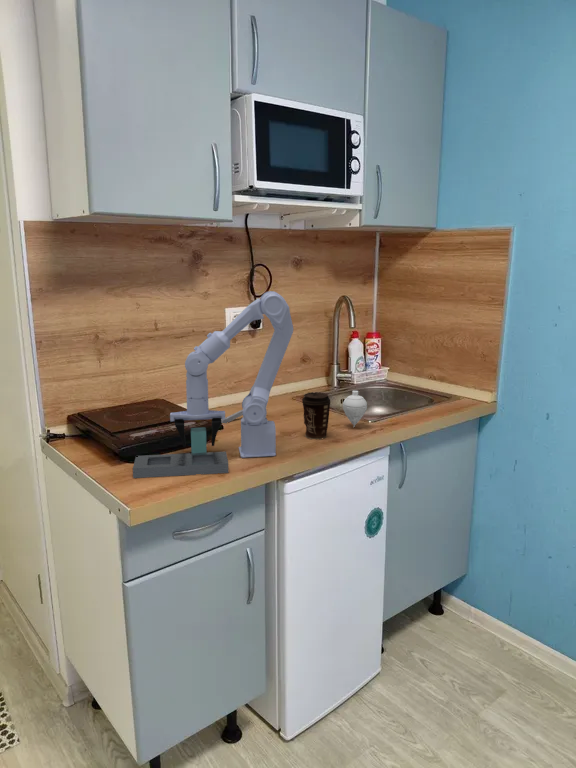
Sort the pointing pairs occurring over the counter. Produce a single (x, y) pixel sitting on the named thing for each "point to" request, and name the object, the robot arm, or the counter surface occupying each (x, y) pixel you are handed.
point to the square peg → (198, 440)
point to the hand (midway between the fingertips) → (198, 445)
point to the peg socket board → (180, 464)
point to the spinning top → (354, 407)
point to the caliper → (232, 417)
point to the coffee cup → (316, 414)
